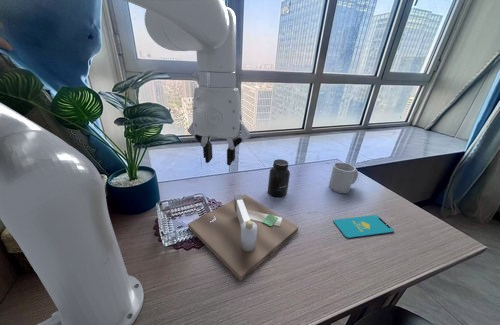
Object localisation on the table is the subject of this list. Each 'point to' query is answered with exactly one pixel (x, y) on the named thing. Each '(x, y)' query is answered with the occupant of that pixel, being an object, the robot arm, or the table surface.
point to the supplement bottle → (279, 179)
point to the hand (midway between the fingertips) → (219, 161)
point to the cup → (342, 177)
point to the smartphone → (362, 226)
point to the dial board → (229, 235)
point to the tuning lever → (245, 225)
